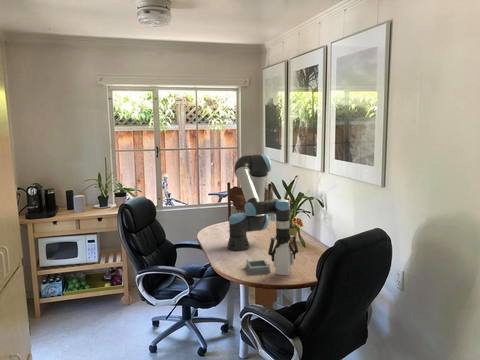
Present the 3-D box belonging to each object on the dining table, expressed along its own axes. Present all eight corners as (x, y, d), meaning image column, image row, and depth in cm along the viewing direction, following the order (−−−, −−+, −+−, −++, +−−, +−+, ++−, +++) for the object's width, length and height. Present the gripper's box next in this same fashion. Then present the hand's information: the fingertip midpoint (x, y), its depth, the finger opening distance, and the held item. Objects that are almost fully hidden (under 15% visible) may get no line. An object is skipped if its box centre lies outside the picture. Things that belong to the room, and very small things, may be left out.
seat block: (245, 266, 228) (245, 258, 227) (265, 264, 230) (265, 257, 229) (250, 274, 216) (249, 266, 215) (270, 272, 218) (270, 264, 218)
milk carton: (288, 275, 213) (287, 242, 210) (275, 274, 216) (275, 241, 213) (291, 271, 220) (290, 239, 217) (279, 269, 222) (278, 238, 219)
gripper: (265, 231, 208) (266, 270, 211) (304, 227, 212) (304, 266, 215) (261, 227, 215) (262, 265, 219) (299, 224, 219) (300, 261, 223)
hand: (283, 265), depth 217 cm, fingers closed on milk carton, 10 cm apart
